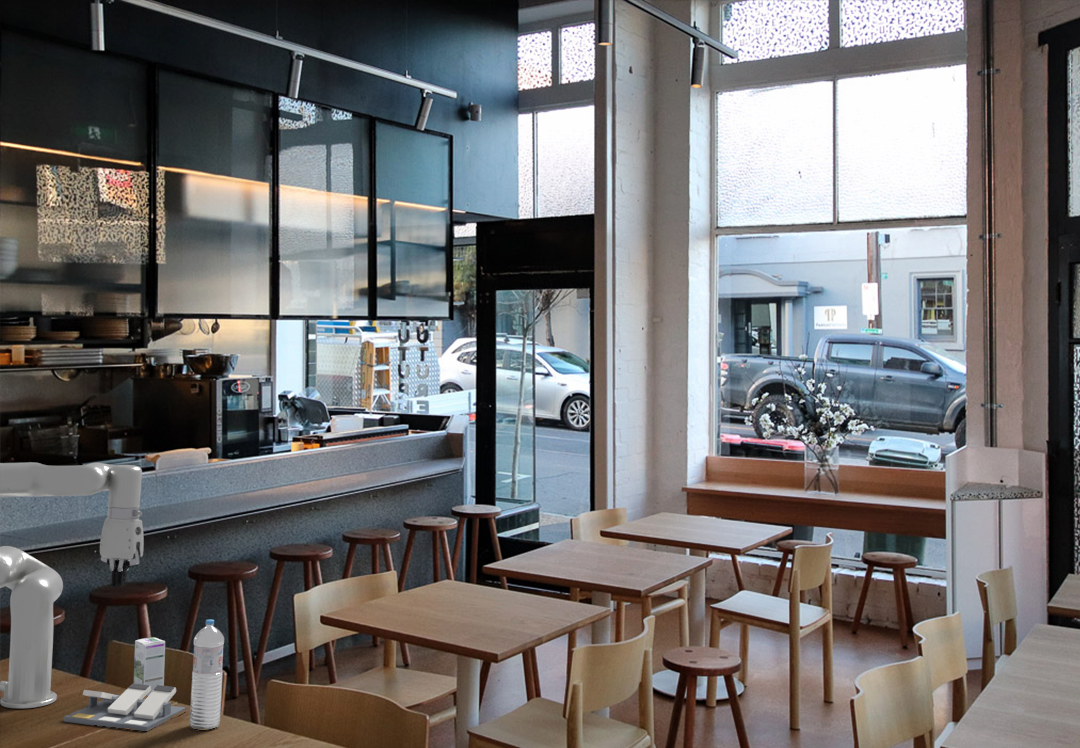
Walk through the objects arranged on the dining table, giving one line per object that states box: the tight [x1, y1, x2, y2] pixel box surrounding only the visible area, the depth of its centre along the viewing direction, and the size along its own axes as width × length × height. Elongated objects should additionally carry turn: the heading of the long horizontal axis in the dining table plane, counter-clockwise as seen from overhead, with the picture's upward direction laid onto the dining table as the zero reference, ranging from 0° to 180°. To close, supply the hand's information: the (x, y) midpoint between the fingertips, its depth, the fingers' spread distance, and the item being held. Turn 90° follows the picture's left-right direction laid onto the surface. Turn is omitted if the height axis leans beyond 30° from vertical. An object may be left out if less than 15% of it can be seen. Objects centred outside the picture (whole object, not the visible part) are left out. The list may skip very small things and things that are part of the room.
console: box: [63, 696, 187, 732], centre depth 248 cm, size 22×16×4 cm
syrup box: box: [132, 636, 166, 696], centre depth 265 cm, size 6×6×14 cm
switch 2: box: [134, 685, 177, 720], centre depth 247 cm, size 5×10×1 cm, turn 167°
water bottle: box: [189, 618, 225, 730], centre depth 243 cm, size 7×7×25 cm
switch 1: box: [82, 689, 122, 700], centre depth 250 cm, size 5×10×1 cm, turn 167°
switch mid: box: [108, 683, 151, 715], centre depth 249 cm, size 5×10×2 cm, turn 167°
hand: (118, 586), depth 261 cm, fingers closed
